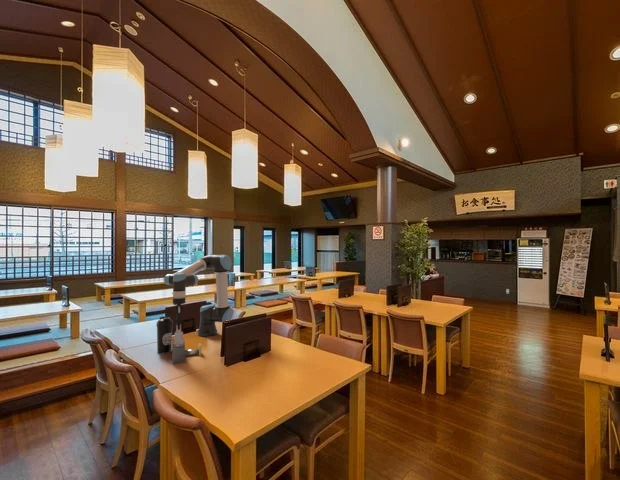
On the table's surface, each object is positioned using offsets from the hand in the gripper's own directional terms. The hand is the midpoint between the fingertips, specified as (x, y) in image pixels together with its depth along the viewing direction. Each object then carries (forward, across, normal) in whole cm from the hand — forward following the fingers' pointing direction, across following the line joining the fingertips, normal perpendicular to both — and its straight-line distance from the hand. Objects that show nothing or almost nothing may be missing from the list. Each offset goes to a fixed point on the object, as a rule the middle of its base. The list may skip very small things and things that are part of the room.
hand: (178, 334), depth 196 cm
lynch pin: (+15, -2, +8) cm, 17 cm away
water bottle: (+15, -16, -8) cm, 24 cm away
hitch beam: (+15, -1, 0) cm, 15 cm away
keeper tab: (+5, +5, 0) cm, 7 cm away
